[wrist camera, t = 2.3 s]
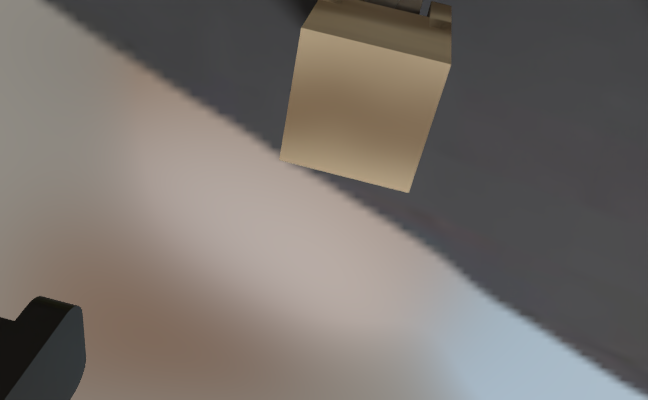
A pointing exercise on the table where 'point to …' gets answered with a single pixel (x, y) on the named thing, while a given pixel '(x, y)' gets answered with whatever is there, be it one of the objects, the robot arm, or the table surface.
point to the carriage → (366, 90)
